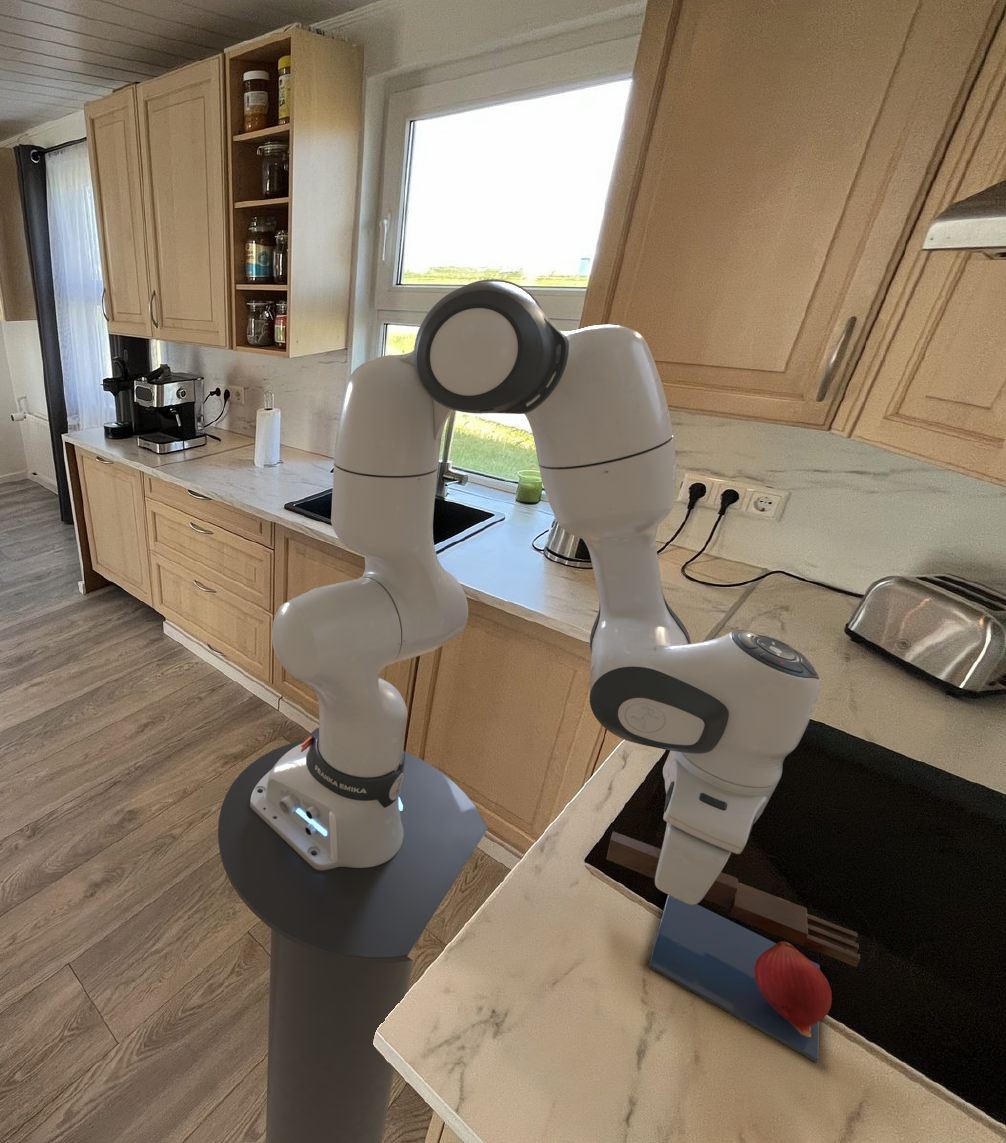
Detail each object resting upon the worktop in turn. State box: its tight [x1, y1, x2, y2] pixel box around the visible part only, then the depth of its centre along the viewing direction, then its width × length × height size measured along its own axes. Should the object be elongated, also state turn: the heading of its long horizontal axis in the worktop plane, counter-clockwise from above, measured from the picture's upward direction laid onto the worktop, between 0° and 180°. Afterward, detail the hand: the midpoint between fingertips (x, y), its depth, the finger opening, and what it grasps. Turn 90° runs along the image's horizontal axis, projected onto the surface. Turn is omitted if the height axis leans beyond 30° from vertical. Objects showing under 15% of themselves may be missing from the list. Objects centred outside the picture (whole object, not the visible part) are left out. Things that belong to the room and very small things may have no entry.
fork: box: [606, 831, 861, 968], centre depth 68 cm, size 22×4×3 cm, turn 52°
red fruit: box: [754, 940, 833, 1037], centre depth 62 cm, size 6×6×8 cm
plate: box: [648, 894, 821, 1063], centre depth 67 cm, size 14×12×1 cm
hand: (674, 868), depth 71 cm, fingers closed on fork, 2 cm apart
